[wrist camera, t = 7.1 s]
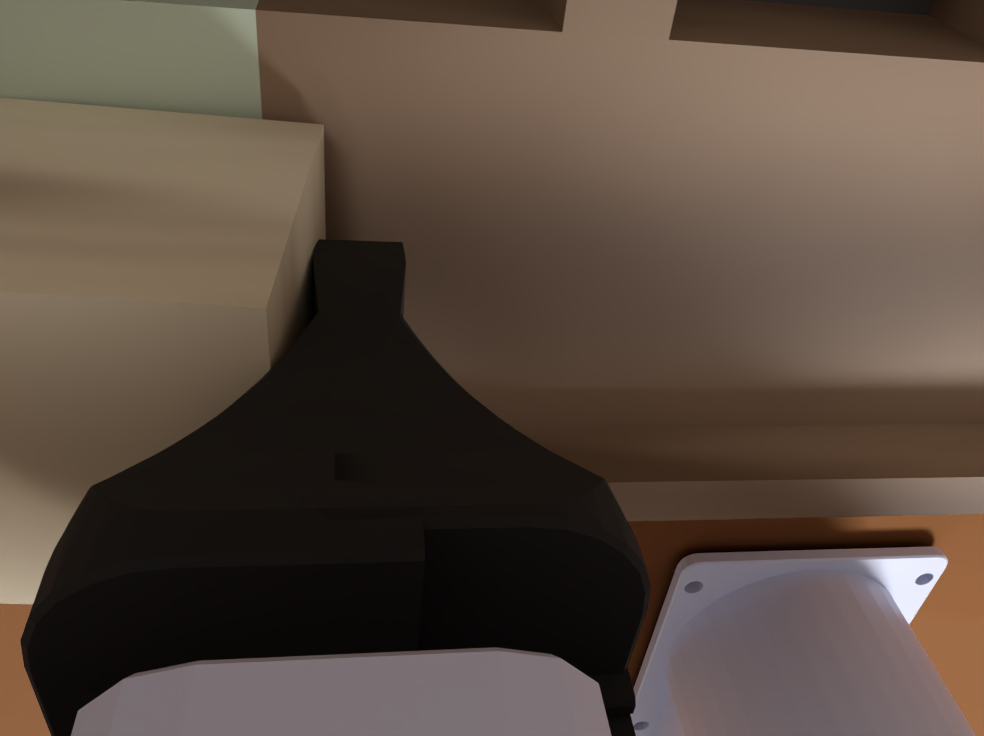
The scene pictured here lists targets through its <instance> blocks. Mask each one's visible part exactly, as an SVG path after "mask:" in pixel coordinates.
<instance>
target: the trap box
mask: <svg viewBox="0 0 984 736" xmlns="http://www.w3.org/2000/svg"><path fill="white" fill-rule="evenodd" d="M0 98H11V99H23V100H35V101H47V102H59V103H71V104H83V105H96V106H108V107H120V108H132V109H144V110H156V111H168V112H180V113H192V114H204V115H216V116H228V117H240V118H252V119H264V120H276V121H288V122H300V123H312V124H324V170H325V226H326V240H356V241H388V242H402V243H403V247H404V252H405V258H406V275H405V295H404V316H403V318H404V319H405V321H406V322H407V323H408V325H409V326H410V328H411V329H412V331H413V332H414V333H415V334H416V336H417V337H418V338H419V340H420V341H421V342H422V344H423V345H424V346H425V347H426V349H427V350H428V351H429V352H430V353H431V355H432V356H433V357H434V358H435V359H436V360H437V362H438V363H439V364H440V365H441V366H442V367H443V368H444V369H445V370H446V371H447V372H448V373H449V375H450V376H451V377H452V378H453V379H454V380H455V381H456V382H457V383H458V384H459V385H460V386H461V387H463V388H464V389H465V390H466V391H467V392H468V393H469V394H470V395H471V396H472V397H474V398H475V399H476V400H477V401H479V402H480V403H481V404H482V405H484V406H485V407H486V408H487V409H489V410H490V411H491V412H493V413H494V414H495V415H496V416H498V417H499V418H500V419H502V420H503V421H504V422H506V423H507V424H509V425H510V426H512V427H513V428H514V429H516V430H517V431H519V432H521V433H522V434H524V435H525V436H527V437H528V438H530V439H532V440H533V441H535V442H536V443H538V444H540V445H541V446H543V447H544V448H546V449H548V450H550V451H551V452H553V453H555V454H557V455H559V456H561V457H563V458H565V459H567V460H569V461H571V462H573V463H575V464H577V465H579V466H581V467H583V468H585V469H587V470H589V471H590V472H592V473H594V474H596V475H598V476H600V477H602V478H604V479H605V480H606V482H607V483H608V485H609V487H610V489H611V491H612V492H613V494H614V496H615V498H616V500H617V502H618V504H619V506H620V508H621V510H622V511H623V513H624V515H625V517H626V519H627V521H628V522H634V521H679V520H724V519H768V518H813V517H858V516H903V515H947V514H984V0H0Z"/></svg>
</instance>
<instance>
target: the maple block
mask: <svg viewBox="0 0 984 736" xmlns="http://www.w3.org/2000/svg"><path fill="white" fill-rule="evenodd" d="M319 239H325V240H326V226H325V170H324V124H312V123H300V122H288V121H276V120H264V119H252V118H240V117H228V116H216V115H204V114H192V113H180V112H168V111H156V110H144V109H132V108H120V107H108V106H96V105H83V104H71V103H59V102H47V101H35V100H23V99H11V98H0V603H4V604H33V603H34V600H35V597H36V594H37V592H38V589H39V586H40V583H41V580H42V577H43V574H44V571H45V569H46V566H47V564H48V562H49V560H50V557H51V555H52V553H53V551H54V549H55V547H56V545H57V543H58V541H59V540H60V538H61V536H62V534H63V533H64V531H65V529H66V527H67V525H68V523H69V522H70V520H71V518H72V516H73V515H74V513H75V511H76V510H77V508H78V506H79V504H80V503H81V501H82V499H83V498H84V496H85V494H86V493H87V491H88V489H89V488H90V487H91V486H92V485H94V484H97V483H99V482H101V481H103V480H105V479H108V478H110V477H112V476H114V475H116V474H118V473H120V472H121V471H123V470H125V469H127V468H129V467H131V466H133V465H135V464H137V463H139V462H141V461H143V460H145V459H147V458H149V457H151V456H153V455H155V454H157V453H159V452H161V451H162V450H164V449H166V448H168V447H169V446H171V445H173V444H174V443H176V442H178V441H179V440H181V439H183V438H184V437H186V436H187V435H189V434H191V433H192V432H194V431H195V430H197V429H199V428H200V427H201V426H203V425H204V424H206V423H207V422H209V421H210V420H212V419H213V418H215V417H216V416H217V415H219V414H220V413H221V412H223V411H224V410H225V409H226V408H228V407H229V406H230V405H232V404H233V403H234V402H235V401H236V400H237V399H238V398H240V397H241V396H242V395H243V394H244V393H245V392H247V391H248V390H249V389H250V388H251V387H252V386H253V385H255V384H256V383H257V382H258V381H259V380H260V379H261V378H262V377H263V376H264V375H265V374H266V373H267V372H268V371H269V370H270V369H271V368H272V367H273V366H274V365H275V364H276V363H277V362H278V361H279V360H280V359H281V358H282V357H283V355H284V354H285V353H286V352H287V351H288V350H289V349H290V348H291V346H292V345H293V344H294V343H295V342H296V340H297V339H298V338H299V336H300V335H301V334H302V333H303V331H304V330H305V329H306V327H307V326H308V325H309V323H310V322H311V321H312V320H313V318H314V317H315V314H314V278H313V256H314V250H315V245H316V243H317V242H318V240H319Z"/></svg>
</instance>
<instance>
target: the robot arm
mask: <svg viewBox="0 0 984 736" xmlns="http://www.w3.org/2000/svg"><path fill="white" fill-rule="evenodd" d="M405 275H406V258H405V252H404V247H403V243H402V242H388V241H356V240H325V239H319V240H318V242H317V243H316V245H315V250H314V256H313V278H314V314H315V317H314V318H313V320H312V321H311V322H310V323H309V325H308V326H307V327H306V329H305V330H304V331H303V333H302V334H301V335H300V336H299V338H298V339H297V340H296V342H295V343H294V344H293V345H292V346H291V348H290V349H289V350H288V351H287V352H286V353H285V354H284V355H283V357H282V358H281V359H280V360H279V361H278V362H277V363H276V364H275V365H274V366H273V367H272V368H271V369H270V370H269V371H268V372H267V373H266V374H265V375H264V376H263V377H262V378H261V379H260V380H259V381H258V382H257V383H256V384H255V385H253V386H252V387H251V388H250V389H249V390H248V391H247V392H245V393H244V394H243V395H242V396H241V397H240V398H238V399H237V400H236V401H235V402H234V403H233V404H232V405H230V406H229V407H228V408H226V409H225V410H224V411H223V412H221V413H220V414H219V415H217V416H216V417H215V418H213V419H212V420H210V421H209V422H207V423H206V424H204V425H203V426H201V427H200V428H199V429H197V430H195V431H194V432H192V433H191V434H189V435H187V436H186V437H184V438H183V439H181V440H179V441H178V442H176V443H174V444H173V445H171V446H169V447H168V448H166V449H164V450H162V451H161V452H159V453H157V454H155V455H153V456H151V457H149V458H147V459H145V460H143V461H141V462H139V463H137V464H135V465H133V466H131V467H129V468H127V469H125V470H123V471H121V472H120V473H118V474H116V475H114V476H112V477H110V478H108V479H105V480H103V481H101V482H99V483H97V484H94V485H92V486H91V487H90V488H89V489H88V491H87V493H86V494H85V496H84V498H83V499H82V501H81V503H80V504H79V506H78V508H77V510H76V511H75V513H74V515H73V516H72V518H71V520H70V522H69V523H68V525H67V527H66V529H65V531H64V533H63V534H62V536H61V538H60V540H59V541H58V543H57V545H56V547H55V549H54V551H53V553H52V555H51V557H50V560H49V562H48V564H47V566H46V569H45V571H44V574H43V577H42V580H41V583H40V586H39V589H38V592H37V594H36V597H35V600H34V603H33V606H32V609H31V612H30V615H29V618H28V621H27V623H26V626H25V629H24V632H23V635H22V638H21V647H22V654H23V661H24V667H25V669H26V672H27V674H28V677H29V679H30V682H31V685H32V687H33V690H34V692H35V695H36V697H37V700H38V702H39V705H40V708H41V710H42V713H43V715H44V718H45V720H46V723H47V726H48V728H49V731H50V733H51V736H976V734H975V733H974V731H973V729H972V728H971V726H970V725H969V723H968V721H967V720H966V718H965V716H964V715H963V713H962V711H961V710H960V708H959V706H958V705H957V703H956V701H955V700H954V698H953V696H952V695H951V693H950V692H949V690H948V688H947V687H946V685H945V683H944V682H943V680H942V678H941V677H940V675H939V673H938V672H937V670H936V668H935V667H934V665H933V663H932V662H931V660H930V659H929V657H928V655H927V654H926V652H925V650H924V649H923V647H922V645H921V644H920V642H919V640H918V639H917V637H916V635H915V634H914V632H913V630H912V629H911V627H910V626H909V624H910V622H911V621H912V619H913V618H914V616H915V614H916V613H917V611H918V610H919V608H920V607H921V605H922V604H923V602H924V600H925V599H926V597H927V596H928V594H929V593H930V591H931V590H932V588H933V586H934V585H935V583H936V582H937V580H938V579H939V577H940V576H941V574H942V572H943V571H944V569H945V568H946V566H947V563H948V560H947V557H946V556H945V554H944V553H943V551H942V550H941V549H939V548H938V547H931V546H927V547H893V548H858V549H824V550H789V551H754V552H720V553H695V554H691V555H688V556H686V557H684V558H683V559H682V560H681V561H680V562H679V563H678V565H677V567H676V570H675V573H674V576H673V578H672V581H671V584H670V587H669V590H668V593H667V595H666V598H665V601H664V604H663V607H662V610H661V612H660V615H659V618H658V621H657V624H656V627H655V629H654V632H653V635H652V638H651V641H650V644H649V646H648V649H647V652H646V655H645V658H644V660H643V663H642V666H641V669H640V672H639V675H638V677H637V680H636V683H635V686H634V689H633V686H632V683H631V679H630V676H629V672H628V668H627V667H628V664H629V661H630V658H631V655H632V652H633V649H634V646H635V643H636V640H637V637H638V634H639V631H640V628H641V625H642V623H643V620H644V617H645V614H646V611H647V607H648V600H649V593H650V582H649V579H648V575H647V572H646V567H645V563H644V560H643V557H642V553H641V551H640V548H639V546H638V543H637V540H636V538H635V536H634V533H633V531H632V529H631V527H630V525H629V523H628V521H627V519H626V517H625V515H624V513H623V511H622V510H621V508H620V506H619V504H618V502H617V500H616V498H615V496H614V494H613V492H612V491H611V489H610V487H609V485H608V483H607V482H606V480H605V479H604V478H602V477H600V476H598V475H596V474H594V473H592V472H590V471H589V470H587V469H585V468H583V467H581V466H579V465H577V464H575V463H573V462H571V461H569V460H567V459H565V458H563V457H561V456H559V455H557V454H555V453H553V452H551V451H550V450H548V449H546V448H544V447H543V446H541V445H540V444H538V443H536V442H535V441H533V440H532V439H530V438H528V437H527V436H525V435H524V434H522V433H521V432H519V431H517V430H516V429H514V428H513V427H512V426H510V425H509V424H507V423H506V422H504V421H503V420H502V419H500V418H499V417H498V416H496V415H495V414H494V413H493V412H491V411H490V410H489V409H487V408H486V407H485V406H484V405H482V404H481V403H480V402H479V401H477V400H476V399H475V398H474V397H472V396H471V395H470V394H469V393H468V392H467V391H466V390H465V389H464V388H463V387H461V386H460V385H459V384H458V383H457V382H456V381H455V380H454V379H453V378H452V377H451V376H450V375H449V373H448V372H447V371H446V370H445V369H444V368H443V367H442V366H441V365H440V364H439V363H438V362H437V360H436V359H435V358H434V357H433V356H432V355H431V353H430V352H429V351H428V350H427V349H426V347H425V346H424V345H423V344H422V342H421V341H420V340H419V338H418V337H417V336H416V334H415V333H414V332H413V331H412V329H411V328H410V326H409V325H408V323H407V322H406V321H405V319H404V318H403V316H404V295H405Z"/></svg>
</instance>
